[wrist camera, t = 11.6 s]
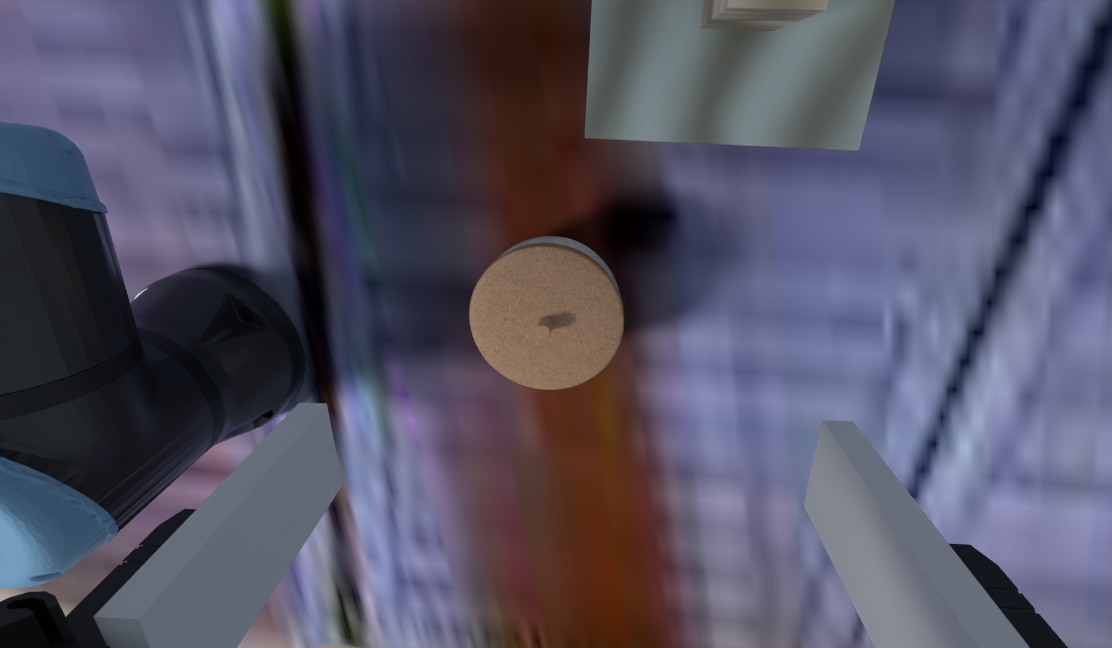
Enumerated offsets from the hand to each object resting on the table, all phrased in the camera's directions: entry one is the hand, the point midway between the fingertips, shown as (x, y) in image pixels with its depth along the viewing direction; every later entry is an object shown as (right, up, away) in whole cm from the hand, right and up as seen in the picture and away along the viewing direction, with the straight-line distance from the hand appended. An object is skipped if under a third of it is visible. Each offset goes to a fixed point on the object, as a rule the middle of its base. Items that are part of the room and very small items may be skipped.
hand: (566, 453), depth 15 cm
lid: (+10, +22, +16) cm, 29 cm away
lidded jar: (0, +7, +30) cm, 31 cm away
